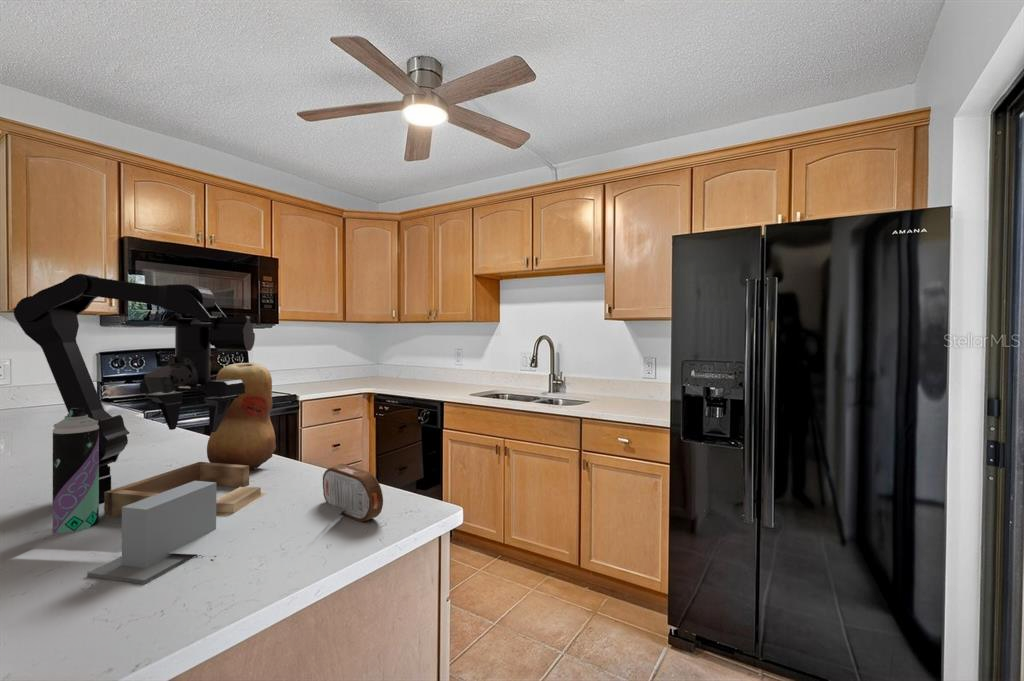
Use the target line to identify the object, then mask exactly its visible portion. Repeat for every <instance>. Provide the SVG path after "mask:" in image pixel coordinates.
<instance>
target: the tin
mask: <svg viewBox="0 0 1024 681" xmlns="http://www.w3.org/2000/svg"><path fill="white" fill-rule="evenodd" d="M322 489H323V490H322V491H323V492H322V493H323V497H324V500H325V502H326V503H327V504H329V505H332V506H335V507H337V508H339V509H342V511H341V512H340V514H341V515H342V516H346V517H348V518H350V519H352V520H355V521H357V522H360V523H363V522H366V521H369V520H371V519H375V518H377V517H378V516H379V515H380V514H381V512H382V509H383V507H384V497H383V496H384V495H383V490H382V487H381V485H380V483H379V481H378V479H377V477H376V476H375V475H374V474H372V473H371V472H369V471H366V470H363V469H361V468H358V467H354V466H351V465H348V464H346V463H339V464H337V465H333V466H331V467H329V468H327V469H326V470H325V471H324V473H323V475H322Z"/></svg>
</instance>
